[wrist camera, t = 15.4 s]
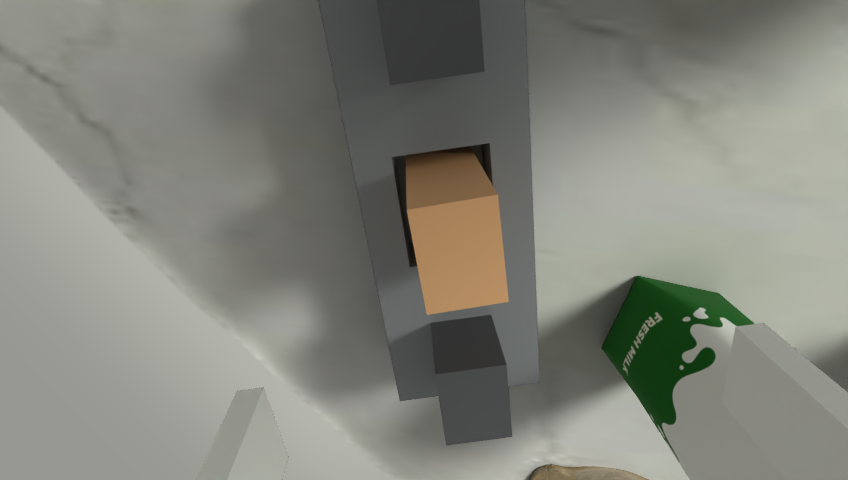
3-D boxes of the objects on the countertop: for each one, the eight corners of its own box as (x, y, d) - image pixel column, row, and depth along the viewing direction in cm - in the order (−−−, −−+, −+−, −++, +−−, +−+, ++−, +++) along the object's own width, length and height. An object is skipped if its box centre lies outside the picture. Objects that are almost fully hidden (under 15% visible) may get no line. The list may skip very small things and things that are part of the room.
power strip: (276, -287, 22) (185, -514, 13) (486, -321, 22) (547, -575, 13) (400, 356, 38) (399, 460, 28) (523, 339, 37) (561, 439, 28)
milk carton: (630, 262, 35) (879, 516, 17) (736, 285, 36) (1074, 545, 18) (586, 354, 38) (752, 648, 20) (684, 372, 40) (923, 665, 21)
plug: (405, 154, 29) (406, 209, 20) (468, 143, 29) (498, 194, 20) (420, 232, 32) (426, 315, 22) (478, 223, 31) (508, 301, 22)
